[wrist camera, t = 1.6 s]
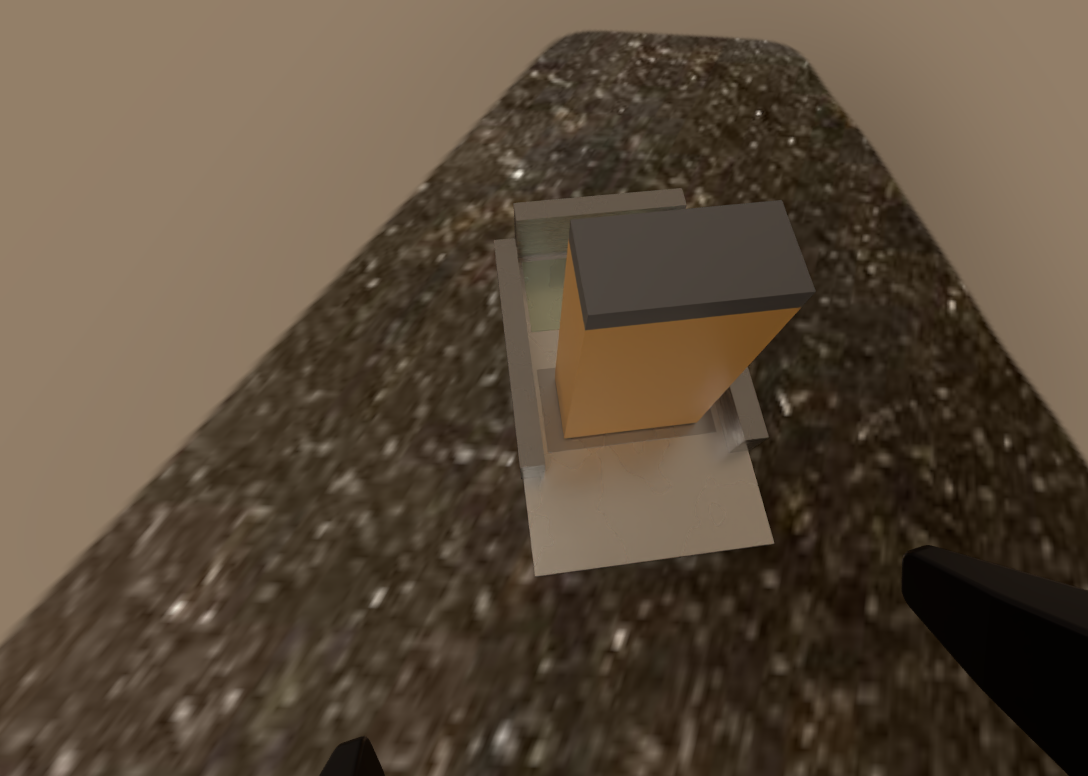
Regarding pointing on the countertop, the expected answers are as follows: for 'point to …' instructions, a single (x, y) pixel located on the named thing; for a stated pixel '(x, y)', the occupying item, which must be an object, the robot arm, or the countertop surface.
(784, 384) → the countertop surface
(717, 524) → the gray rectangular tray
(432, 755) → the countertop surface
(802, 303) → the tan tall block
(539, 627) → the countertop surface
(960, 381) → the countertop surface
